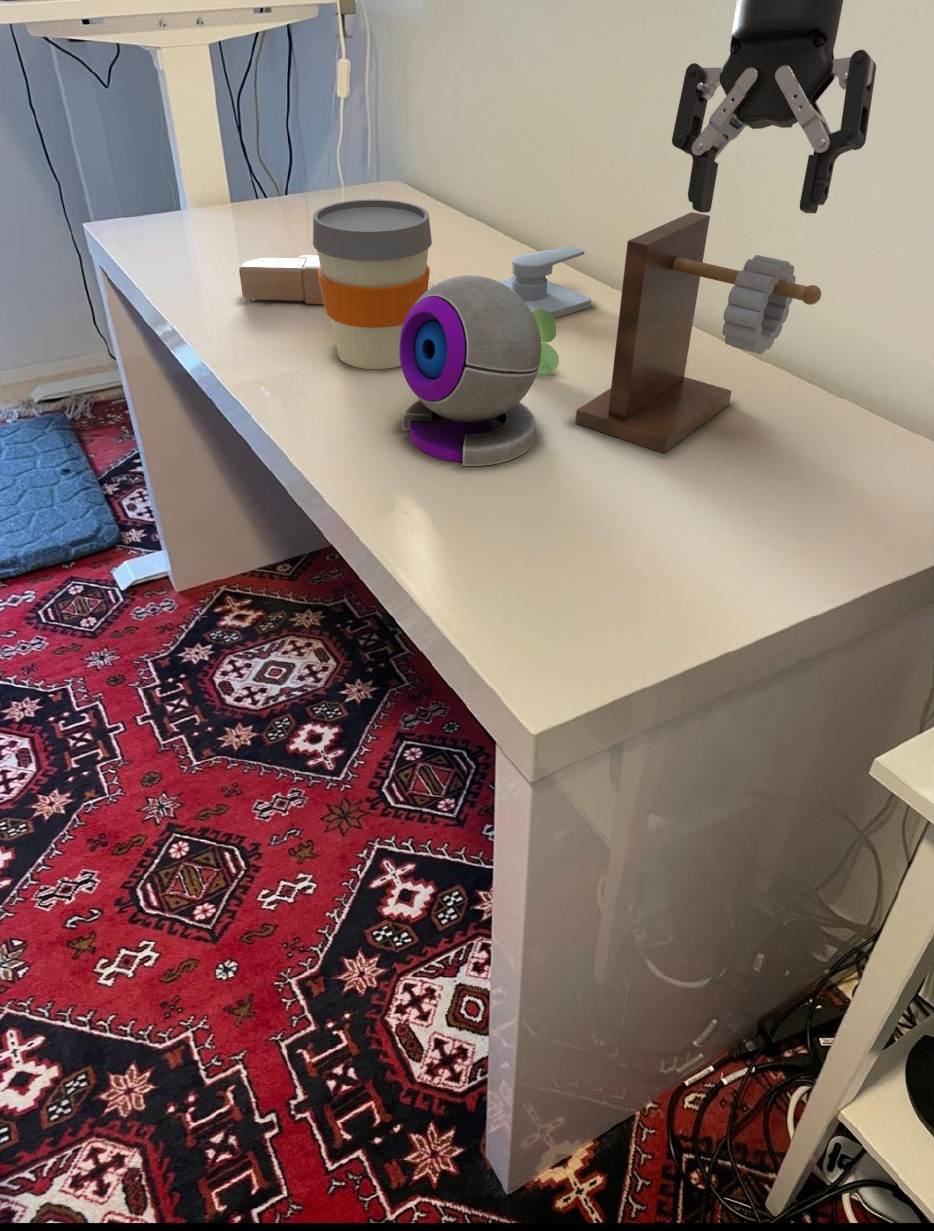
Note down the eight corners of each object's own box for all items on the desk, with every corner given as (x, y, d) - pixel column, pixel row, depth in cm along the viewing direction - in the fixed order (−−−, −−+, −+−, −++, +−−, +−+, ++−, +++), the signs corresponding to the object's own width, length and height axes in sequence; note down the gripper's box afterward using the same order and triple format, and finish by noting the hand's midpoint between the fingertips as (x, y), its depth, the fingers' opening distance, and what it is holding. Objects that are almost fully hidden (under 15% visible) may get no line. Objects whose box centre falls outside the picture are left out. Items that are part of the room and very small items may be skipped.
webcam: (377, 428, 93) (370, 274, 84) (476, 393, 100) (480, 247, 91) (462, 480, 86) (464, 316, 76) (563, 439, 92) (576, 283, 83)
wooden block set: (382, 262, 116) (236, 258, 117) (384, 307, 120) (242, 304, 120) (396, 221, 130) (264, 218, 130) (397, 263, 133) (269, 260, 134)
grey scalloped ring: (784, 337, 89) (803, 252, 84) (747, 365, 84) (764, 276, 79) (754, 330, 90) (771, 245, 86) (716, 357, 86) (731, 269, 81)
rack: (575, 423, 95) (591, 236, 84) (644, 378, 104) (668, 204, 93) (751, 483, 86) (795, 282, 75) (810, 428, 95) (858, 241, 84)
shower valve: (613, 258, 119) (523, 282, 111) (608, 302, 122) (521, 328, 115) (545, 234, 127) (457, 256, 119) (543, 276, 130) (457, 299, 122)
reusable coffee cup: (451, 343, 111) (451, 207, 102) (400, 384, 102) (396, 239, 93) (357, 325, 115) (349, 193, 106) (300, 363, 106) (286, 222, 97)
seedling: (531, 399, 110) (527, 392, 104) (488, 346, 111) (481, 335, 104) (580, 358, 109) (579, 348, 103) (536, 304, 109) (532, 290, 103)
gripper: (908, -20, 68) (859, 221, 73) (720, 1, 76) (686, 218, 81) (883, -63, 62) (831, 203, 67) (682, -35, 70) (647, 201, 75)
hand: (752, 211), depth 74 cm, fingers open, 8 cm apart
